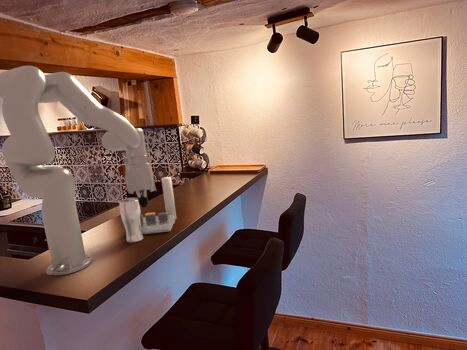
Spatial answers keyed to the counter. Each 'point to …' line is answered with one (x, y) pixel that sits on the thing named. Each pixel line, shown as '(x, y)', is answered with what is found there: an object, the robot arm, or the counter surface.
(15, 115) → the robot arm
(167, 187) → the post
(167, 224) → the breaker panel
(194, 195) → the counter surface
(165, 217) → the grey rectangular box
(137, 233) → the beer glass
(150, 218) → the paddle mid
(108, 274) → the counter surface
